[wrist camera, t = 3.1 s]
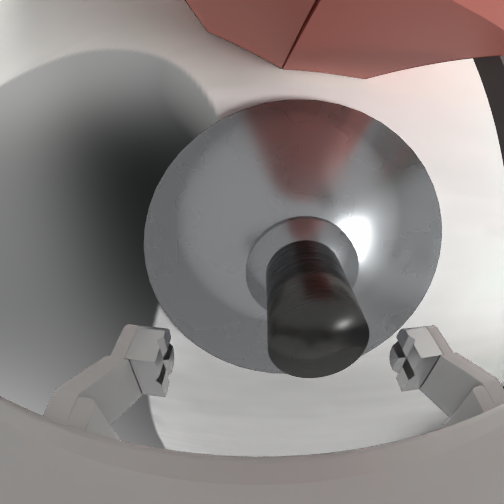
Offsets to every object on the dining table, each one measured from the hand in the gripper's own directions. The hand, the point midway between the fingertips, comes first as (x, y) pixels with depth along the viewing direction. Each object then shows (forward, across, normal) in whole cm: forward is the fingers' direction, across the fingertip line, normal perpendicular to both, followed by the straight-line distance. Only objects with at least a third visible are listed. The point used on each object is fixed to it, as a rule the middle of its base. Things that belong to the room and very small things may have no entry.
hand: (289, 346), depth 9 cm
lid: (+5, -1, 0) cm, 6 cm away
